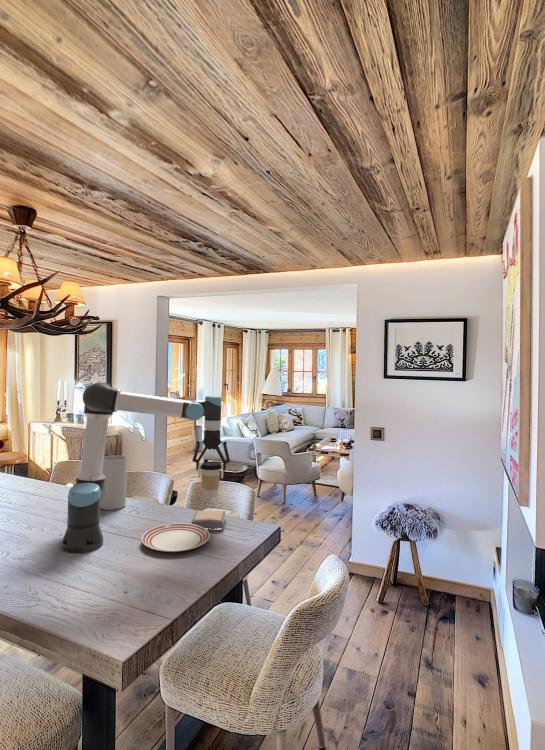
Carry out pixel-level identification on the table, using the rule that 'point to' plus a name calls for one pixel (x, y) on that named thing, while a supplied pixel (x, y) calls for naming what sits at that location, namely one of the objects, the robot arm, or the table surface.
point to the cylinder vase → (114, 482)
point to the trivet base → (209, 519)
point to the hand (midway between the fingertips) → (210, 477)
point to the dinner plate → (175, 537)
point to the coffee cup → (210, 478)
